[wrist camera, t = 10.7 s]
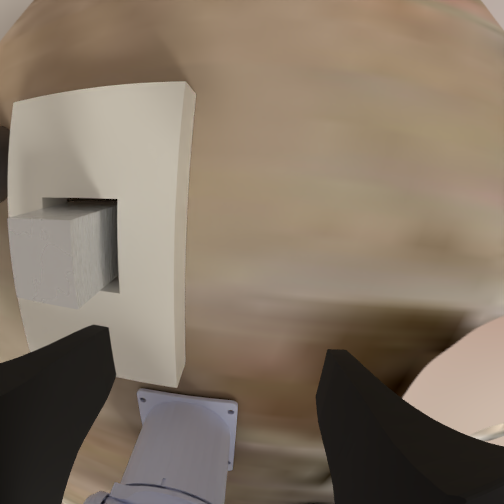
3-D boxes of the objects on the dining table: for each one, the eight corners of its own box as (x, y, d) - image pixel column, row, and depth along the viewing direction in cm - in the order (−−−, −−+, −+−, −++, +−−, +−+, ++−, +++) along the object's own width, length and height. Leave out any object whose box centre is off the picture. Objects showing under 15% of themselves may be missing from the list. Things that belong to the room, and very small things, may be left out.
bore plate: (185, 362, 22) (177, 387, 19) (49, 336, 21) (30, 354, 19) (196, 94, 17) (185, 81, 14) (38, 107, 17) (13, 102, 14)
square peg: (129, 265, 20) (77, 309, 13) (77, 260, 20) (17, 297, 13) (128, 202, 19) (70, 220, 12) (74, 200, 19) (7, 218, 12)
